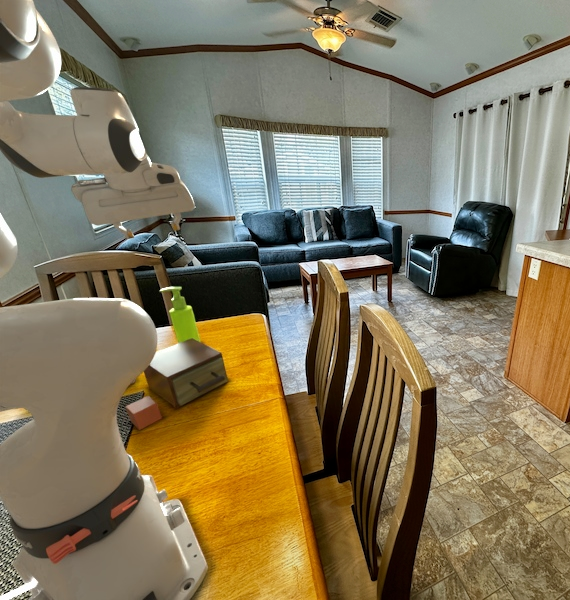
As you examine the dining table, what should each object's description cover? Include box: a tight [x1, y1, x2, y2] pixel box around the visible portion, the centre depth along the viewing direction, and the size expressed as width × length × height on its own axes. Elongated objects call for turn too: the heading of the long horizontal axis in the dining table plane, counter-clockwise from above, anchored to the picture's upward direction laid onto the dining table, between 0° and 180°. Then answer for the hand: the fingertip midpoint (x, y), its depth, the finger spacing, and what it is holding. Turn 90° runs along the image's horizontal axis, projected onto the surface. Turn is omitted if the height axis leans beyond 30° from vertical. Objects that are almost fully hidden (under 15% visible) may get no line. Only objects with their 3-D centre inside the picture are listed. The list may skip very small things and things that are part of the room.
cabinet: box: [143, 338, 229, 409], centre depth 84 cm, size 15×13×9 cm
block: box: [125, 395, 163, 431], centre depth 73 cm, size 4×4×4 cm
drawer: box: [171, 357, 229, 406], centre depth 82 cm, size 18×12×7 cm, turn 57°
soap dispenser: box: [158, 286, 202, 344], centre depth 101 cm, size 6×7×20 cm
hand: (154, 233), depth 79 cm, fingers open, 8 cm apart
